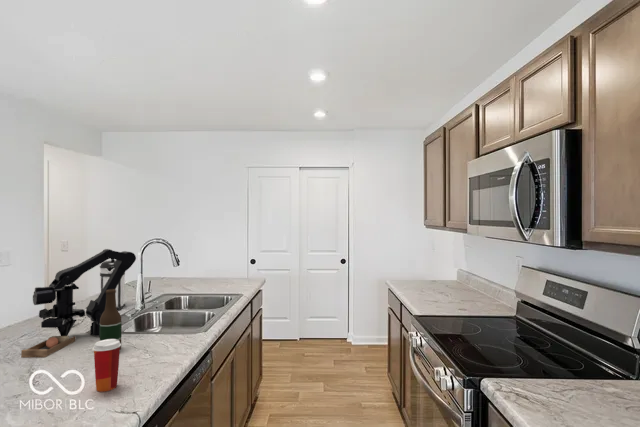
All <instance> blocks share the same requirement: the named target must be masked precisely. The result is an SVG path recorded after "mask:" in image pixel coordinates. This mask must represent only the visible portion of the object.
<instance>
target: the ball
mask: <svg viewBox="0 0 640 427" xmlns="http://www.w3.org/2000/svg"><path fill="white" fill-rule="evenodd" d="M50 337H51V338H50ZM50 337H48V339H46V340H47V341H46V340H45V341H46V346H47V347H49V348H52V347H54V346H56V345H58V339H57V338H55V337H52V336H50Z"/></svg>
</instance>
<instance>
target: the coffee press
mask: <svg viewBox="0 0 640 427" xmlns="http://www.w3.org/2000/svg"><path fill="white" fill-rule="evenodd" d="M115 262H116V259H111V258H110V260H106V261H104V262H102V263H101V264H100V265H99V269H100V271H99V279H100V280H99V285H100V286H99V287H100V288H99V294H100V293H101V291H102V290H103V288H104V286H105V284H106V283H107V281H108V279H109V277H110V276H111V274H112V272H113V270H114V268H115ZM125 275H126V272H125V273H124V274H123V276H122V278H121V280H120V282H119V283H118V285H117V287H116V289H115V290H116V293H115V295H116V308H117V311H118V312H120V311H122V310H123V307H126V304H125Z"/></svg>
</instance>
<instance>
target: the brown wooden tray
mask: <svg viewBox="0 0 640 427" xmlns="http://www.w3.org/2000/svg"><path fill="white" fill-rule="evenodd" d="M47 340H48V339H46V340H43V341H42V342H39V343H37V344H35V345H34V346H33V345H32V346H30V347H29V348H27V349H22V350H21V351H20V352H21V354H20V356H21V358H47V357H49V356H50V355H53V354H54V353H56V352H58V351H59V350H62V349H63V348H65V347H68V346H70V345H71V344H73V343H75V342H76V336H72V337H69V339H68V340H66V341H64V342H62V343H60V344H58V345H56V346H54V347H52V348H49V347H47V346H46V341H47Z"/></svg>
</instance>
